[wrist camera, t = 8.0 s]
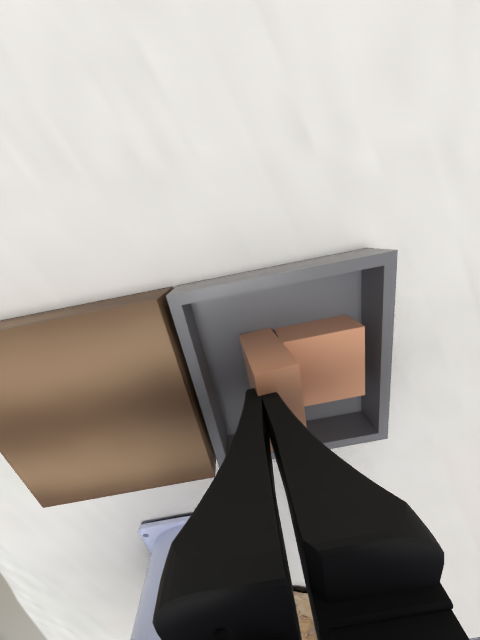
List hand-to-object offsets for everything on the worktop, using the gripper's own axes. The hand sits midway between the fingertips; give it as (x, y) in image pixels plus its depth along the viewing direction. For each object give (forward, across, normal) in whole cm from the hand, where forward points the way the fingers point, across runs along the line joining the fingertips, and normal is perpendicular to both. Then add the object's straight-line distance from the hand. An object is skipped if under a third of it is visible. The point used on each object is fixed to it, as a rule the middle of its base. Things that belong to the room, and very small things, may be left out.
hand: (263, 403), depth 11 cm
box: (+4, -2, 0) cm, 5 cm away
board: (+4, +10, 0) cm, 11 cm away
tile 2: (+1, 0, 0) cm, 1 cm away
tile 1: (+2, -4, 0) cm, 4 cm away
